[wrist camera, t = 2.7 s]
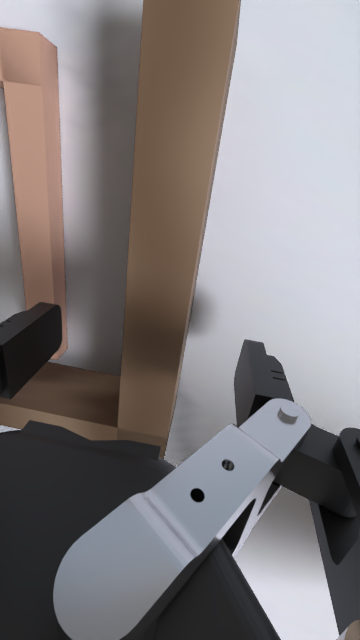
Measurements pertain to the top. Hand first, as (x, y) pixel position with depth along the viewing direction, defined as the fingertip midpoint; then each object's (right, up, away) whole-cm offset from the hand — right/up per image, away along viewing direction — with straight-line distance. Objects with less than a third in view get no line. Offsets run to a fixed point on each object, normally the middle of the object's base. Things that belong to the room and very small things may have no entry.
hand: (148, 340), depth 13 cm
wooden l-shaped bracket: (-7, +5, +2) cm, 9 cm away
